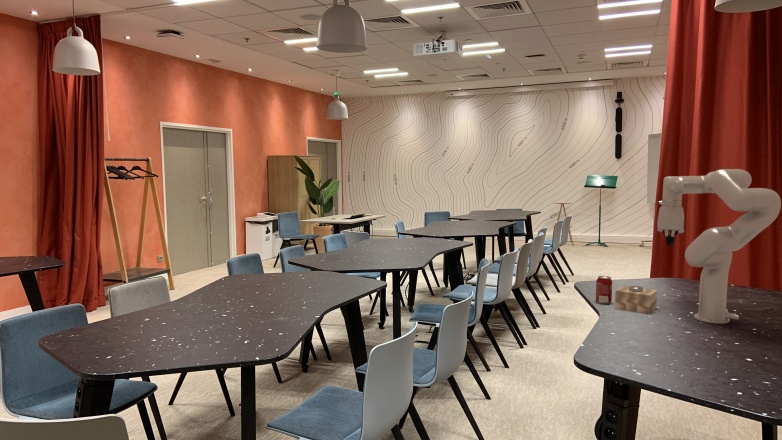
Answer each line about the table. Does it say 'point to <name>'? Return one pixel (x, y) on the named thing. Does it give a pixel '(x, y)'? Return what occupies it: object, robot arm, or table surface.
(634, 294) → the block
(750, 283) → the table surface
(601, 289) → the soda can
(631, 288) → the pin
